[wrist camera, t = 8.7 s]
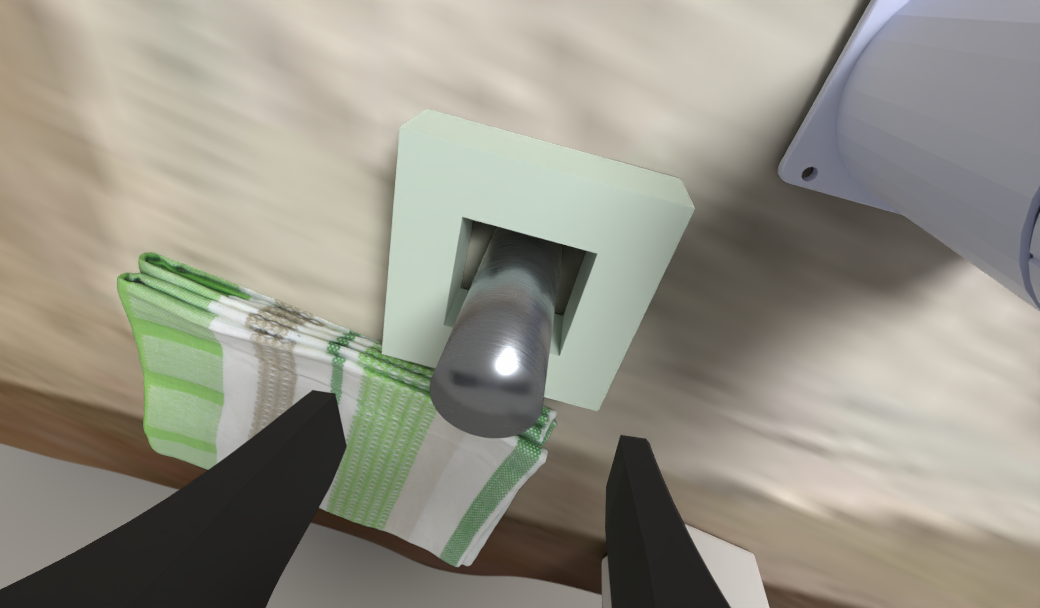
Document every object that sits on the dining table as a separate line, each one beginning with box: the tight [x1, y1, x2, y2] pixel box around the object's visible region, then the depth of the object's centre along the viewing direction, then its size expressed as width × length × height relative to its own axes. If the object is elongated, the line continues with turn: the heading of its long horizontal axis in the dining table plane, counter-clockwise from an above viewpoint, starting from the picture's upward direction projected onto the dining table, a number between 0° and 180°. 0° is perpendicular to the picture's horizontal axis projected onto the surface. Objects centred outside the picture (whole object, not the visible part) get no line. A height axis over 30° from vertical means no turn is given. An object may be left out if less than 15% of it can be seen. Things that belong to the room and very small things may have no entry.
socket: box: [382, 109, 695, 411], centre depth 19 cm, size 10×10×3 cm
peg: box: [429, 227, 562, 438], centre depth 17 cm, size 3×3×9 cm
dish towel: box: [117, 253, 557, 567], centre depth 28 cm, size 17×23×4 cm
